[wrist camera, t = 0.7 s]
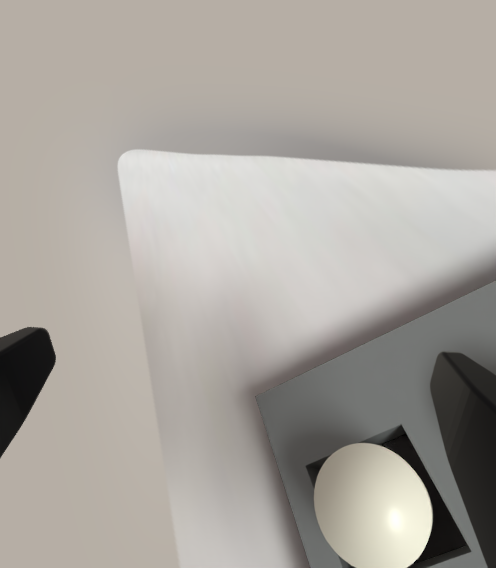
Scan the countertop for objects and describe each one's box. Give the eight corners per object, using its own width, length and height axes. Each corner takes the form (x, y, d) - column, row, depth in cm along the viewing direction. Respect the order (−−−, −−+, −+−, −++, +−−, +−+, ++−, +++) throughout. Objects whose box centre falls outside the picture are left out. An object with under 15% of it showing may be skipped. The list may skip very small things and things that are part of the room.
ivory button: (455, 541, 16) (458, 550, 13) (359, 576, 16) (342, 591, 14) (399, 438, 18) (391, 426, 15) (319, 472, 19) (298, 466, 16)
